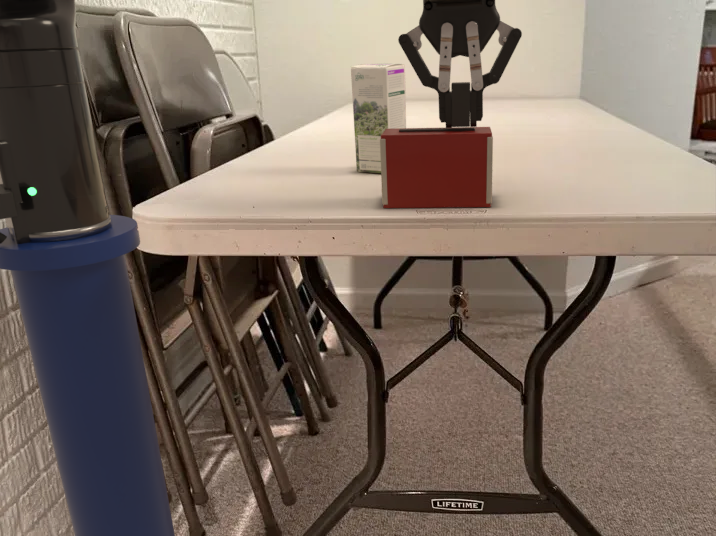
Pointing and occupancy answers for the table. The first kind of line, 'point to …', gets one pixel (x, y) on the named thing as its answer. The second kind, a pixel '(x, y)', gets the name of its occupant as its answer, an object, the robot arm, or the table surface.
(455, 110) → the block
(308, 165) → the table surface
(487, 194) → the toaster
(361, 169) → the syrup box
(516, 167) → the table surface
